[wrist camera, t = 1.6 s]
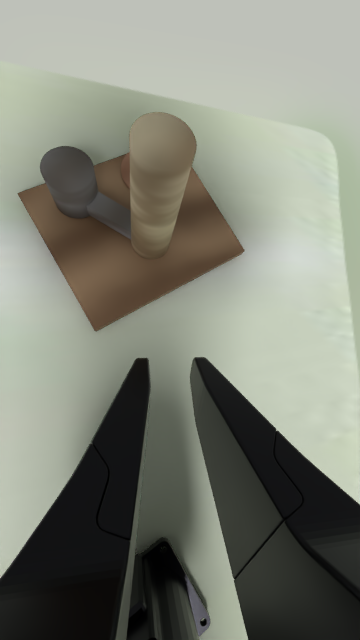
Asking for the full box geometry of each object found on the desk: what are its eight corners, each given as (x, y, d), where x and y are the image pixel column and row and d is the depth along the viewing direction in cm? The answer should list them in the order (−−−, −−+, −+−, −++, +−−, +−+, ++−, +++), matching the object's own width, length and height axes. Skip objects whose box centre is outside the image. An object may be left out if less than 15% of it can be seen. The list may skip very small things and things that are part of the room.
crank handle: (45, 203, 21) (-31, 58, 11) (70, 172, 22) (20, 13, 12) (156, 268, 22) (174, 185, 12) (176, 236, 23) (209, 134, 13)
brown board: (241, 254, 25) (245, 249, 24) (95, 331, 21) (94, 329, 20) (171, 143, 26) (173, 134, 25) (21, 199, 22) (16, 191, 21)
